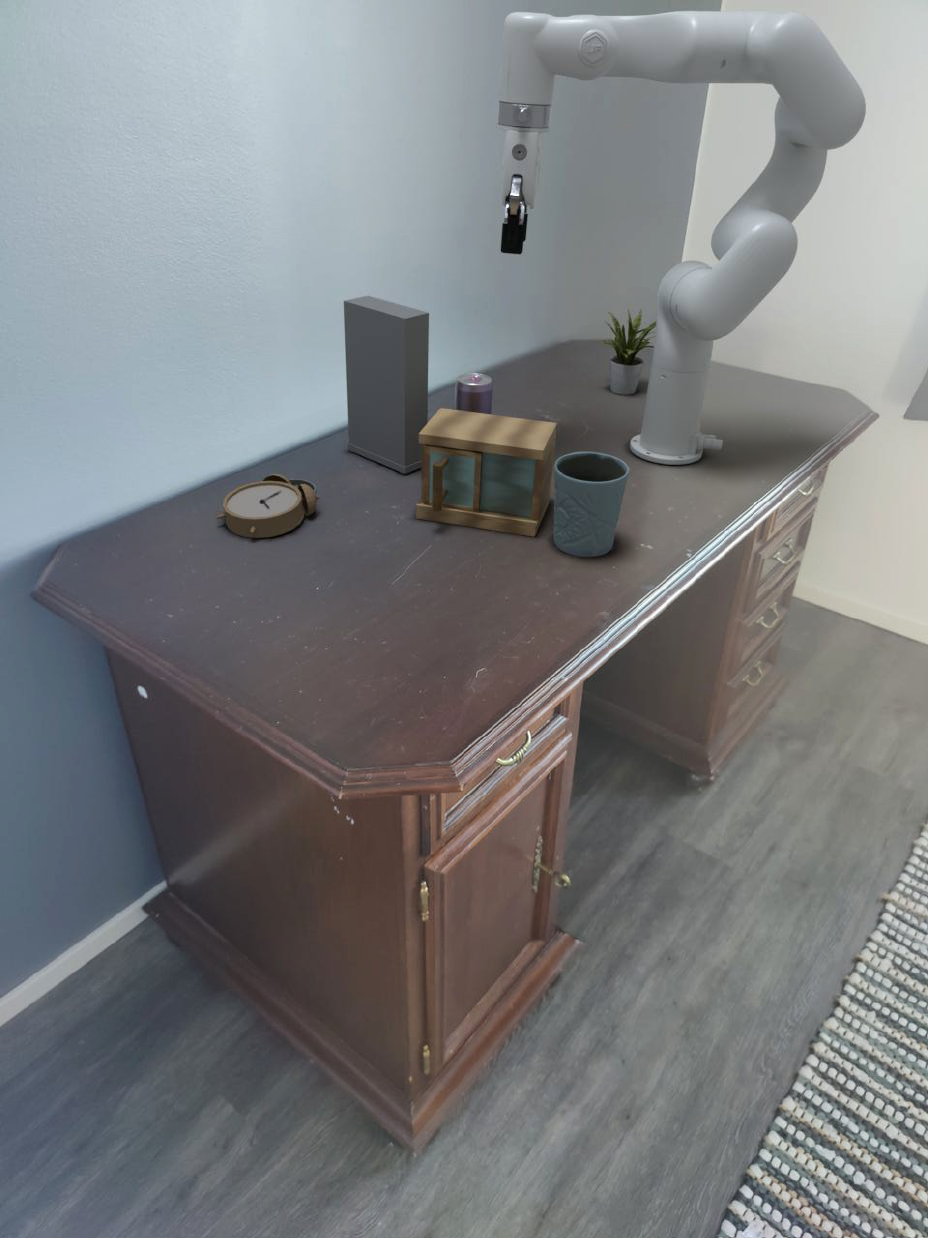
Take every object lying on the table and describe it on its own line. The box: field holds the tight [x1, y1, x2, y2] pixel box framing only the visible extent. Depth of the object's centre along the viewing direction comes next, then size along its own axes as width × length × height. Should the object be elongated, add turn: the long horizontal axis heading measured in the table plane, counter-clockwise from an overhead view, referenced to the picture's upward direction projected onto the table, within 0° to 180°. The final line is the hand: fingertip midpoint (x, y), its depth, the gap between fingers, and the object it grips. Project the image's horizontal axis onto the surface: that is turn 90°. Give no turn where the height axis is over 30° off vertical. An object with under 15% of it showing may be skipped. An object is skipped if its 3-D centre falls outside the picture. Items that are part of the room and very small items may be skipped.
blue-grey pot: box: [552, 451, 630, 558], centre depth 125 cm, size 10×10×12 cm
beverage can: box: [453, 372, 494, 415], centre depth 145 cm, size 6×6×15 cm
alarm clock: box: [216, 473, 321, 539], centre depth 131 cm, size 11×5×15 cm
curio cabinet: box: [415, 407, 558, 538], centre depth 132 cm, size 18×12×13 cm, turn 75°
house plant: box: [599, 309, 656, 395], centre depth 179 cm, size 14×14×16 cm
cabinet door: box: [424, 444, 482, 513], centre depth 128 cm, size 8×5×9 cm, turn 75°
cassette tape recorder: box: [343, 295, 430, 475], centre depth 144 cm, size 14×6×25 cm, turn 48°
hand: (513, 246), depth 135 cm, fingers open, 9 cm apart
